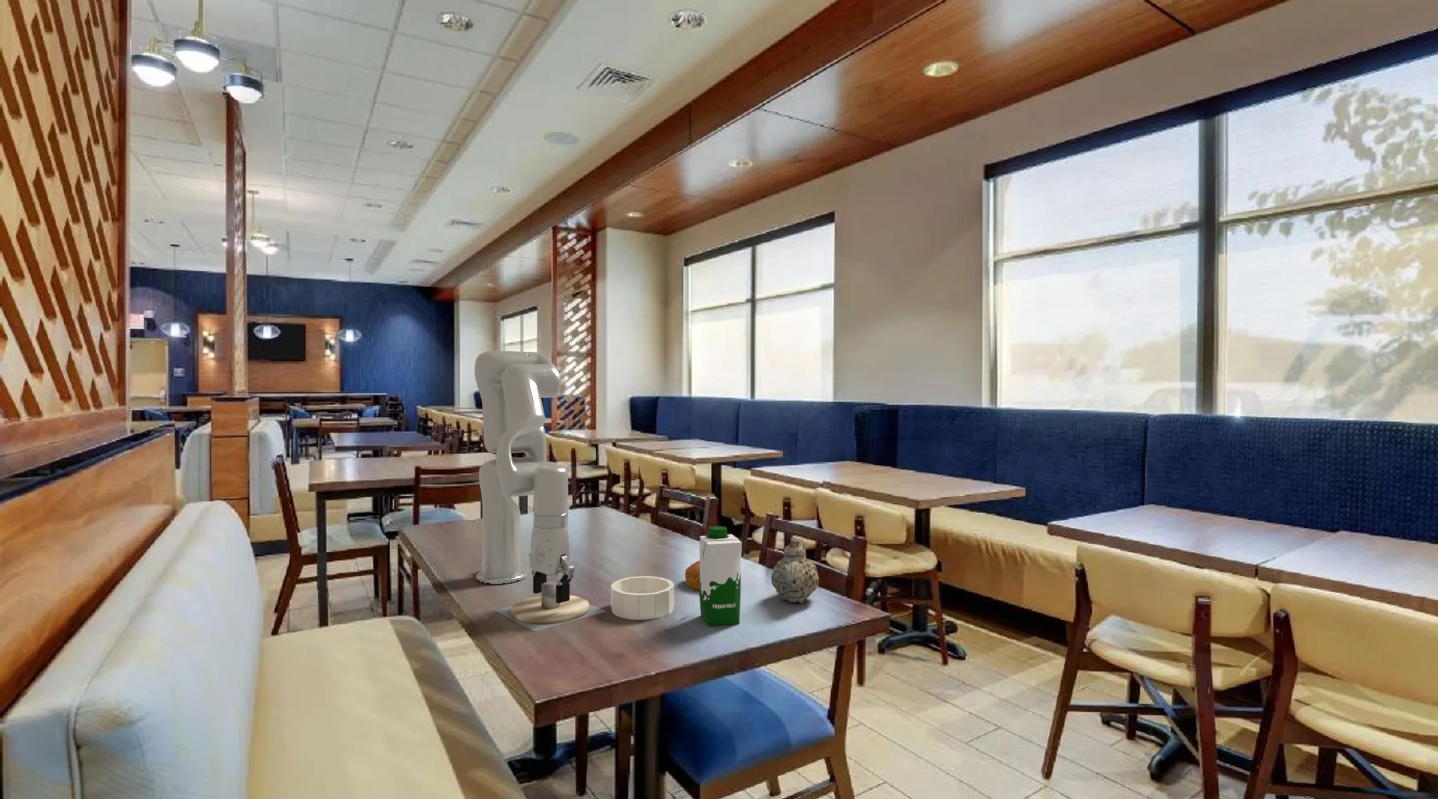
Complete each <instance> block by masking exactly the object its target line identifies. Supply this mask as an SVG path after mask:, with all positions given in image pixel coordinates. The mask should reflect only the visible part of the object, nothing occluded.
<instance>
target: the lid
mask: <svg viewBox="0 0 1438 799" xmlns="http://www.w3.org/2000/svg"><path fill="white" fill-rule="evenodd" d="M556 585H558V583H557V581H547V582H546V583H543V584H542V592H541V595H537V596H532V597H528V598H525V599H523V600H519V601H518V602H516V603H515V604H513V605H511V606H512V608H511V616H512V617H513V618H514V619H516V620H518V621H521V622H525V623H531V624H554V623H562V622H567V621H571V620H574V619H577V618H579V617H582V616H583V615H585V614H586V613H587V612H588V610H589V604H590V603H589V601H588V600H587V599H585V598H582V597H580V596H576V595H573V594H570V600H569V601H566V602H562V603H556Z"/></svg>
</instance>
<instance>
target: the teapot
mask: <svg viewBox="0 0 1438 799" xmlns="http://www.w3.org/2000/svg"><path fill="white" fill-rule="evenodd" d="M806 549H807V547H806V543H805V540H804V539H803V538H801V537H796V536H794V537H791V539H790V543H789V544H788V545H787V546H785V547H784V550H783V553H784V554H783V558H781V559H780V560H778V561H777V562H776V564H775V565H774V566H773V572H772V573H771V577H770V579H771V580H770V582H771V585H772V586H773V588H775V592H776V593H777V594H778V596H779V597H780V598H781V600H783V601H786V602H790V603H797V604H803V603H804V602H805V600H806V599H808V598H809V597H810V596H811V595H813V593H814V592H815V590H817V588H818V586H819V583H820V579H819V575H818V574H819V573H818V569H817V568H818V567H817V565H816V564H814V562H811V561H810V560H808V559H807V552H806V551H807V550H806Z"/></svg>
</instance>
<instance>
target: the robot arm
mask: <svg viewBox="0 0 1438 799" xmlns="http://www.w3.org/2000/svg"><path fill="white" fill-rule="evenodd" d="M474 379H475V383H476V386H477V389H478V392H479V395H480V399H481V403H482V427H483V428H482V430H483V443H484V447H485V449H486V450H487V451H488V453H489V452H490V453H493V454H495V459H490V460H487V461H485V462H484V463H482V465H481V466H480V468H479V470H478V480H479V487H480V492H481V501H482V502H481V503H482V560H481V561H480V564H481V565H482V570H481V571H479V572H478V573H477V574H476V581H477V580H479V581H480V582H479V581H478V582H479V583H481V582H484V583H483V584H486V583H490V584H489V585H504V584H503V583H505V584H509V583H510V584H511V582H512V583H516V582H518V581H517V580H519V581H521V580H524V579H525V578H526V577H527V571H526V570H525V569H524V568H521V509H520V507H519V506H518V503H516V501H515V500H513V498H512V497H515V498H516V497H525V496H533V526H532V530H531V531H532V532H531V538H530V550H529V553H528V555H529V564H530V565H529V566H530V568H531V569H532V570H531V576H532V593H534V594H535V595H536V594H540V593H542V584H543V583H546V582H548V581H547V576H549V577H551V576H554V577H555V580H556V581H555V582H557V583H558V585H556V603H562V602H566V601H569V600H570V595H571V593H570V592H571V590H570V589H571V586H570V585H571V583H572V579H573V577H574V572H575V569H576V568H575V565H573V563H572V561H571V551H570V549H571V548H570V536H569V529H568V528H569V472H568V469H567V468H566V467H565V466H563V465H559V464H558V463H556V462H553V461H548V459H547V456H548V455H547V437H546V434H547V433H546V430H545V426H544V425H545V422H546V416H545V411H544V406H543V401H542V399H543V398H546V399H547V398H549V399H550V398H555V397H557V396H558V395H559V394H560V393H561V388H562V378H561V374H560V371H559V370H558V369H557V367H556V365H555V364H554V363H553V362H552V361H550V360H549V359H548V357H546V356H545V355H544V354H542V353H539V352H538V351H537V352H536V351H516V350H515V351H514V350H489V351H485V352H482V353H480V354H479V355H478V356H477V357H476V358H475V362H474ZM516 453H525V457H513V456H512V454H516ZM561 575H563V576H562V577H561ZM515 581H516V582H515Z"/></svg>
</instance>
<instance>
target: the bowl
mask: <svg viewBox="0 0 1438 799" xmlns="http://www.w3.org/2000/svg"><path fill="white" fill-rule="evenodd" d="M610 607H611V612H612V614H613V615H615V616H617V617H619V618H622V619H627V620H637V621H639V620H640V621H641V620H642V621H643V620H652V619H653V620H654V619H658V618H661V617H666V616H668V615H669V614H671V613H672V612H673V611H674V608H675V584H674V582H673V581H672V580H670V579H667V578H664V577H661V576H660V577H659V576H651V575H649V576H648V575H645V576H644V575H643V576H642V575H641V576H639V575H638V576H628V577H626V578H620V579H617V580H616V581H614V582H613V583H612V584H611V585H610Z"/></svg>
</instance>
